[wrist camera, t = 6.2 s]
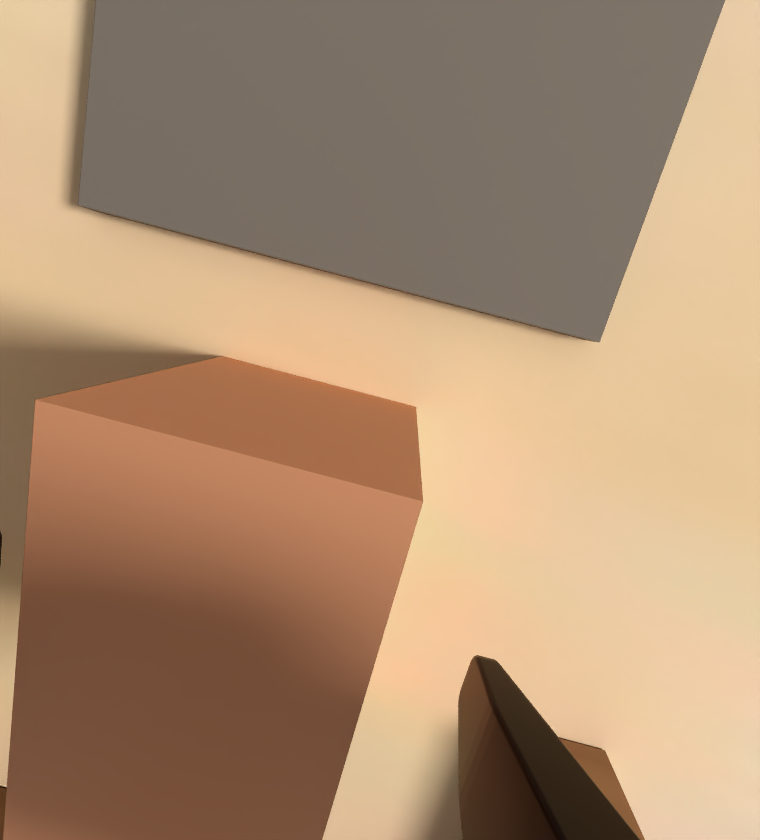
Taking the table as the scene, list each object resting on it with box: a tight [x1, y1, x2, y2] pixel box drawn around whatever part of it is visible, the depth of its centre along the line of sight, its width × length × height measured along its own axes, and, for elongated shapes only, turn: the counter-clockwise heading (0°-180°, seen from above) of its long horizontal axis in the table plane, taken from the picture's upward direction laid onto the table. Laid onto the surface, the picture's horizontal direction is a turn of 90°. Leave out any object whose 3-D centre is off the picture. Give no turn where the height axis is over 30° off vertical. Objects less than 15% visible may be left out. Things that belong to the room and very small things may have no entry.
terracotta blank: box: [3, 356, 423, 840], centre depth 10 cm, size 8×5×6 cm, turn 166°
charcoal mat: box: [78, 0, 725, 342], centre depth 9 cm, size 9×12×1 cm
